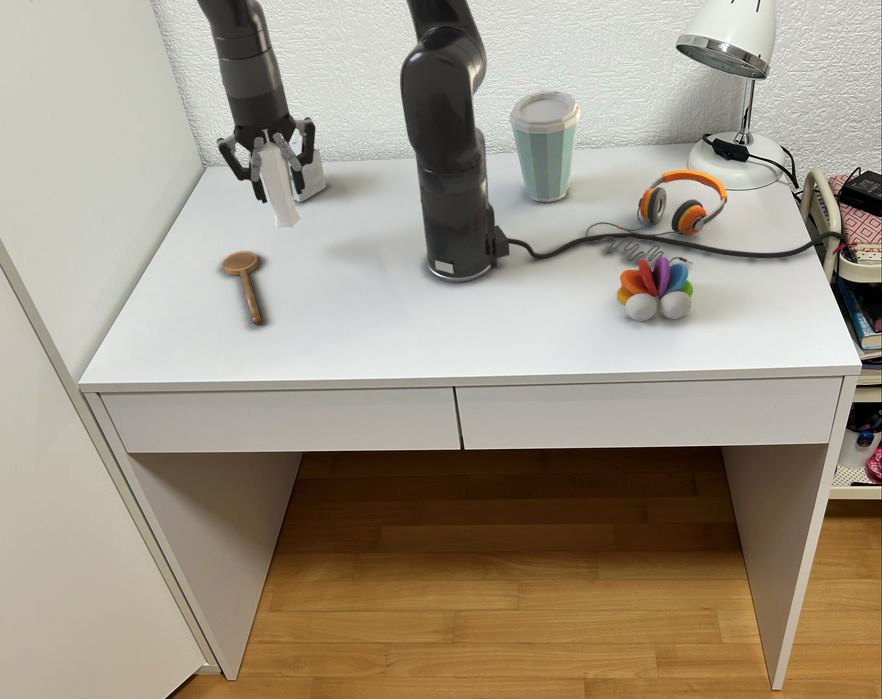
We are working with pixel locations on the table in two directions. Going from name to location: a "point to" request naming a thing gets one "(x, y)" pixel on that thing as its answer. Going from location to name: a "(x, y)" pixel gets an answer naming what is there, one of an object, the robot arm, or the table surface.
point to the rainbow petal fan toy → (655, 290)
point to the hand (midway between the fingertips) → (281, 195)
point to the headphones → (684, 219)
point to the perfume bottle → (278, 184)
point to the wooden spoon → (244, 277)
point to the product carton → (309, 174)
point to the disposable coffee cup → (545, 142)
